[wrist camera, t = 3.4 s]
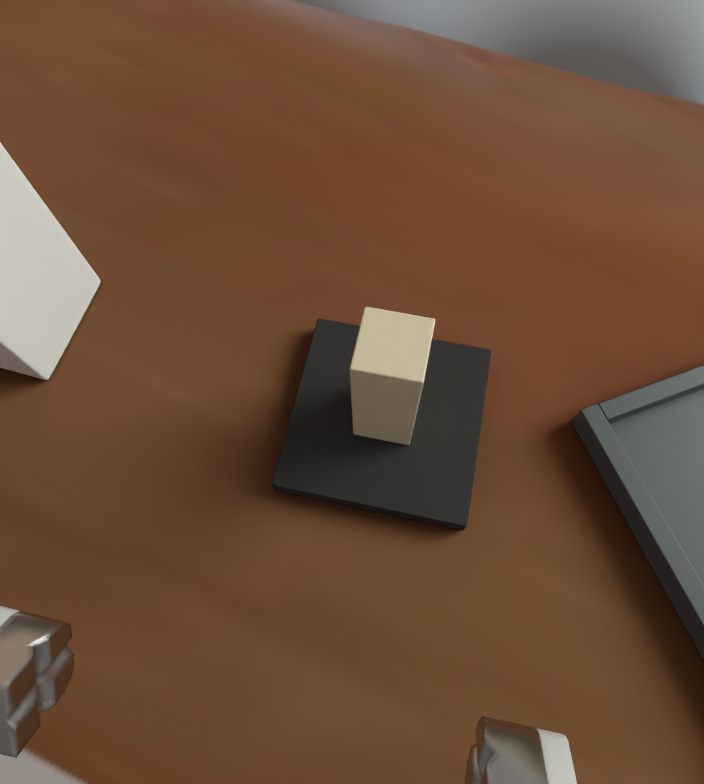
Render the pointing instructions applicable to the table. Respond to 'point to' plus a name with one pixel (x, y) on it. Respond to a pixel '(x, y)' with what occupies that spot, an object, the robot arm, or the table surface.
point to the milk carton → (36, 279)
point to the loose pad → (379, 463)
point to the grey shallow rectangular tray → (658, 480)
